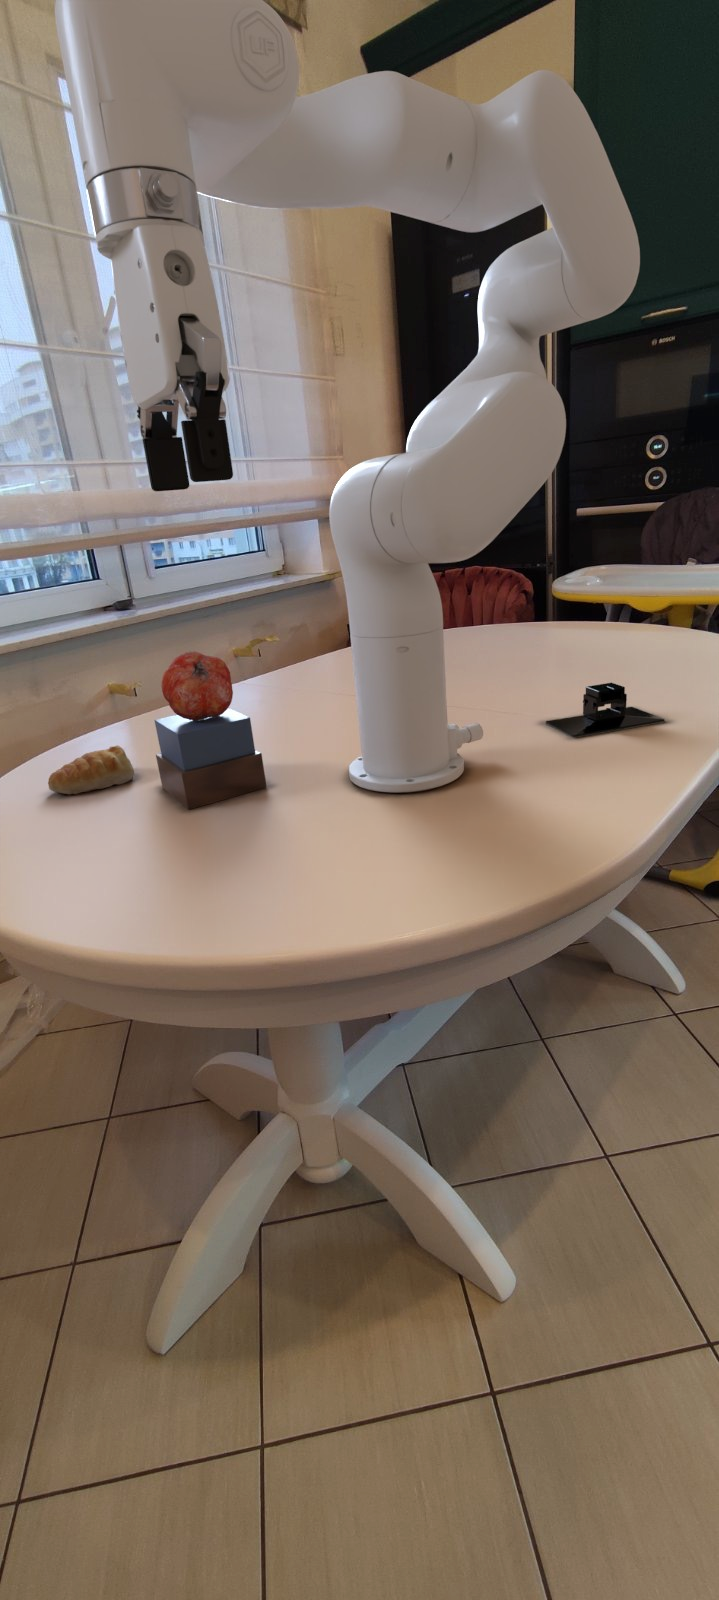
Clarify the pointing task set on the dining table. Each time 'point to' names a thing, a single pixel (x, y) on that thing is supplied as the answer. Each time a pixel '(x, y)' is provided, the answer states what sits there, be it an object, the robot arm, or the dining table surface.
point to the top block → (205, 739)
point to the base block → (212, 779)
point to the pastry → (93, 772)
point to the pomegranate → (197, 686)
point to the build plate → (604, 713)
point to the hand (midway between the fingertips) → (190, 485)
